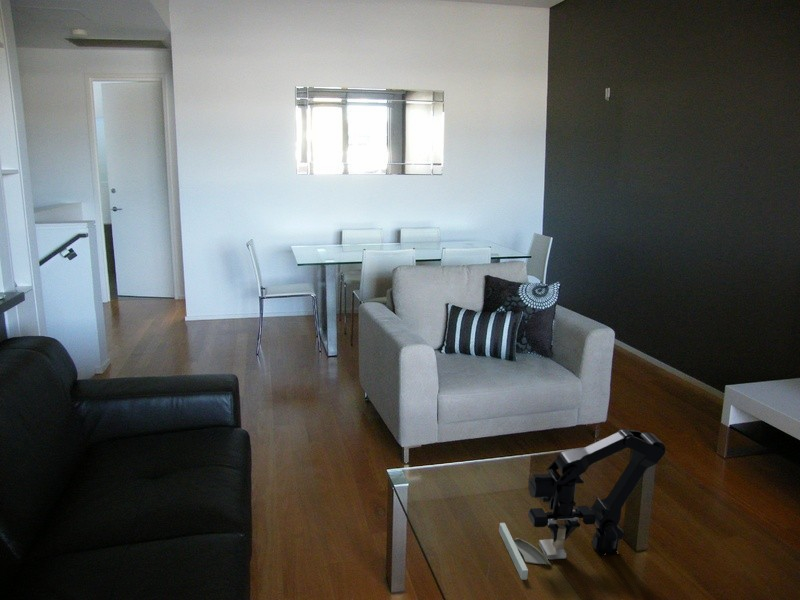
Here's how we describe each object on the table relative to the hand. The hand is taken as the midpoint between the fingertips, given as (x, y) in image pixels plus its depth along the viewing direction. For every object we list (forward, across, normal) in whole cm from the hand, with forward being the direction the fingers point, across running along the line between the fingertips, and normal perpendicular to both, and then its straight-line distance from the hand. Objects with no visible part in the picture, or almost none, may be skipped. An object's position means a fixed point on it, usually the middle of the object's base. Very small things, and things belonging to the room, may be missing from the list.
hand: (558, 540), depth 195 cm
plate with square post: (+4, +2, 0) cm, 4 cm away
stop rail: (+4, +14, 0) cm, 14 cm away
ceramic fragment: (+4, +9, +1) cm, 10 cm away
